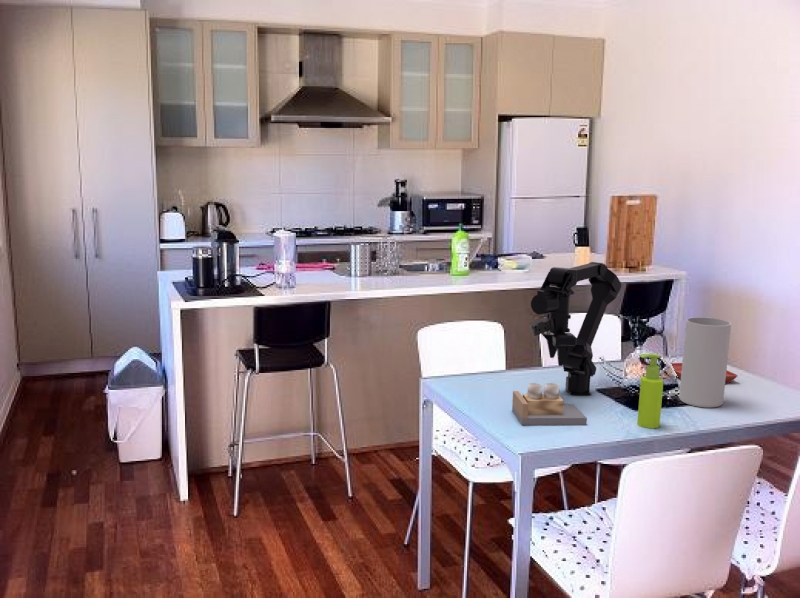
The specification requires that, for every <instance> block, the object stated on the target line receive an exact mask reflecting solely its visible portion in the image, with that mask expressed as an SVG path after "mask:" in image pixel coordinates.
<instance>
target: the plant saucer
mask: <svg viewBox="0 0 800 600" xmlns="http://www.w3.org/2000/svg"><path fill="white" fill-rule="evenodd" d="M671 364H672V366H673V368H674V369H675V370H674V371H675V372H676V374H677V376H678V377H679V378H678V377H677V378H678V379H680V380H681V371H682V362H671ZM736 378H738V374H736V373H734V372H731V371H730V370H728V369H727V370H726V380H725V384H729V383H731V382H732V381H733V380H735V379H736Z"/></svg>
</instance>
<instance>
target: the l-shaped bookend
mask: <svg viewBox="0 0 800 600" xmlns="http://www.w3.org/2000/svg"><path fill="white" fill-rule="evenodd" d="M511 403H512V405H511V407H512V408H511V412H512V413H513V415H514V416H515V417H516V419H517V420H518V422H519V424H520V425H521V426H587V423H588V422H587V421H588V420H587V419H588V417H587V416H586V415H585V414H584V413H583V412H582V411H581V410H580V409H579V408H578V407H577V406H576V405H575V404H574V403H569V404H568V403H565V404H564V403H563V414H560V415H528V403H527V402H526V400H525V399H524V398H523V394H521V392H520V391H519V390H512V402H511Z"/></svg>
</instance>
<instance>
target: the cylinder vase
mask: <svg viewBox="0 0 800 600" xmlns="http://www.w3.org/2000/svg"><path fill="white" fill-rule="evenodd" d="M731 330H732V322H730V321H728V320H725V319H720V318H715V317H705V316H702V317H701V316H698V317H697V316H695V317H694V316H693V317H688V318H687V317H686V319H685V328H684V339H683V352H682V362H681V363H682V371H681V379H680V384H679V385H680V386H679V396H678V398H679V400H680V401H681V402H683V403H684V404H687V405H688V406H693V407H698V408H708V409H709V408H710V409H711V408H713V409H714V408H718V407H721V406H722V405H723V403H724V399H725V398H724V397H725V389H726V388H725V386H726V383H725V380H726V370H727V371H728V369H727V367H728V359H729V350H730V348H729V347H730V339H731Z"/></svg>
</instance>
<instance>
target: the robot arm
mask: <svg viewBox="0 0 800 600" xmlns="http://www.w3.org/2000/svg"><path fill="white" fill-rule="evenodd" d="M585 280H588V282H589V284H590V285H591V287H590V293H591V297H592V299H591V301H590V304H589V306H588V309H587V311H586V314H585V316H584V319H583V321H582V324H581V327H580V328H579V331H578V334H577V337H576V336H575V334H573V333H571V329H570V328H569V320H570V319H571V318H572V316H571V314H570V305H571V304H570V303H571V301H570V300H571V295H574V294H575V292H574V291H573V290H572V288H574V287H575V286H577V285H578V282H581V281H585ZM621 288H622V282H621V280H620V279H619V277H618V276H617V274H616V273H614V272H613V271H612V270H610V269H609V268H608V267H607V265H606V264H605V263H603V262H595V261H591V262H588V263H584V264H581V265H578V266H573V267H555V266H554V267H551V268H550V269H549V271H548V273H547V275H546V277H545V278H544V281H543V283H542V285H541V287H540V289H539V290H537V293H536V295H533V297H532V299H531V301H530V307H531V310H532V311H533V313H535V314H536V315H546V316H545V317H543V318H539V319H537V320H534V321H530V322H529V323H528V325H529V326H528V327H529V329H530V332H531V334H532V335H533V336H536V337H537V336H539V335H542V336H543V338H544V339H545V340H546V343H547V350H548V354H549V358H550V359H554V358H555V356H556V355H557V356H556V357H557V364H558V367H563V372H566V373H567V376H566V378H565V390H566V392H568V394H570V395H573V396H577V395H578V396H586V395H587V396H590V395H592V392H591V391H590V388H591V377H594V376H595V375H596V372H597V367H596V365H595V363H594V362H593V357H594V355H593V350H592V345H593V343H594V340H595V337H596V335H597V332H598V330H599V328H600V327H599V326H600V325H601V322H602V320H603V316H604V315H605V312H606V309H607V307H608V305H609V304H610V303H613V301H614V300H616V299H617V296H618V294H619V292H620V291H621Z"/></svg>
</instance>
